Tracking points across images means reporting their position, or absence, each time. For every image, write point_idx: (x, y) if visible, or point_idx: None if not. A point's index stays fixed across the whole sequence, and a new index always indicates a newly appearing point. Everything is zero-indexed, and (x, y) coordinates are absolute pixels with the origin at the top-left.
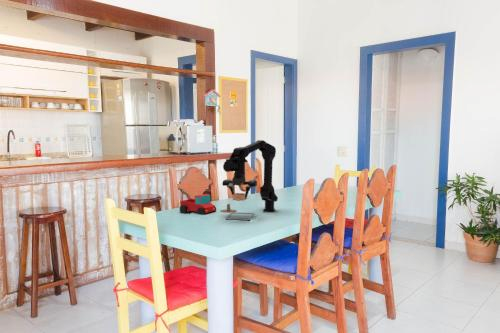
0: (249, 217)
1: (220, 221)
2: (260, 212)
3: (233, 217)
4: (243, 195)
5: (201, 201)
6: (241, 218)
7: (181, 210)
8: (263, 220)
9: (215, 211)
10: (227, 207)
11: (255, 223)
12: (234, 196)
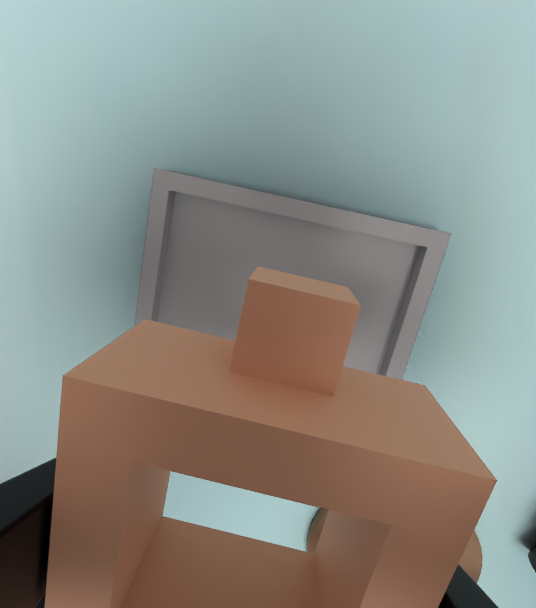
0: (159, 217)
1: (501, 153)
2: None
3: (349, 216)
4: (97, 379)
5: None
6: (252, 190)
7: None
8: (26, 206)
9: (533, 555)
10: None
11: (93, 50)
12: (407, 427)
